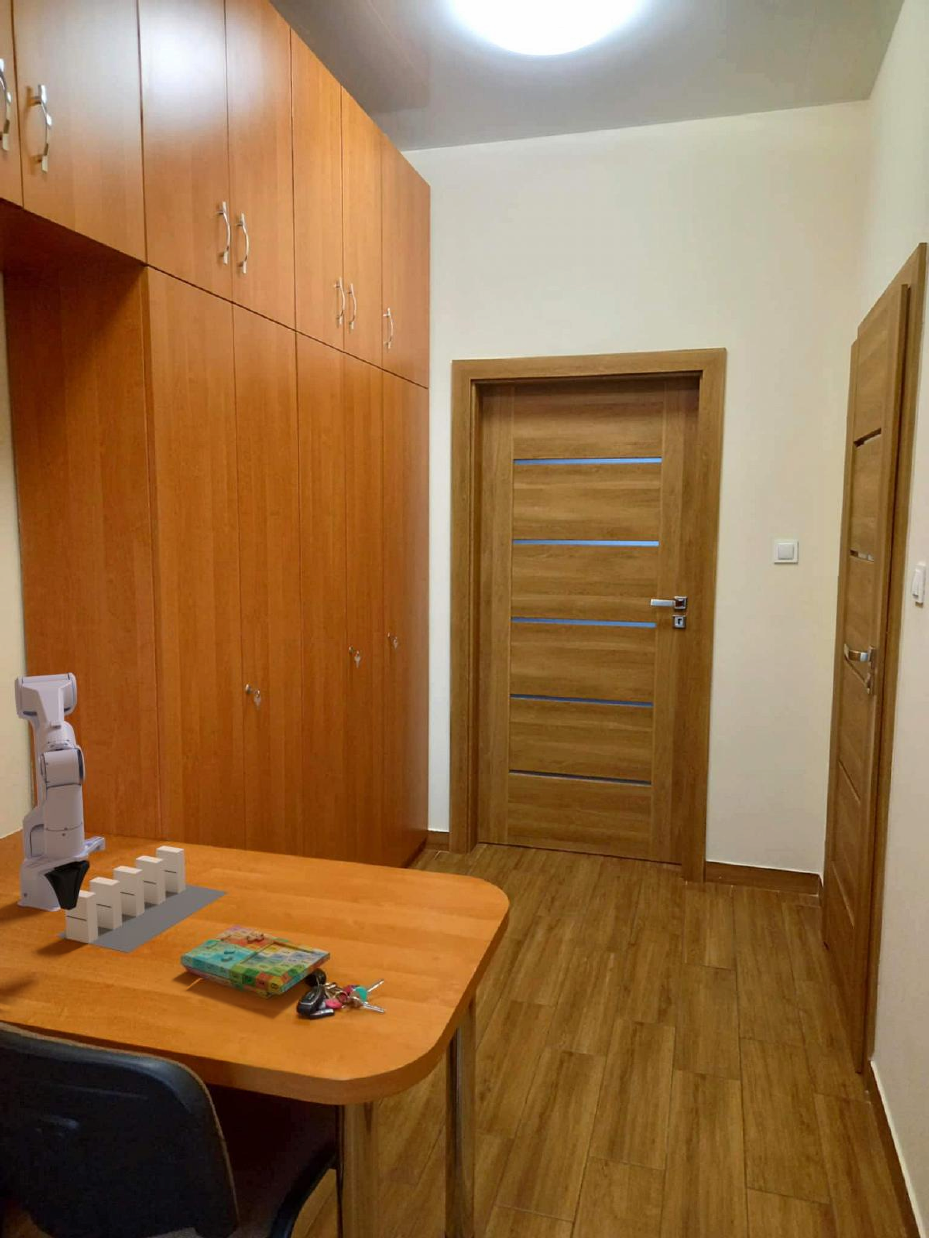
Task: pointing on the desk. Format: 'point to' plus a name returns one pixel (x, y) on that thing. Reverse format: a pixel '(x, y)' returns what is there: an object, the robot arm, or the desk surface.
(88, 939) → the domino
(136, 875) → the domino
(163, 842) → the desk surface
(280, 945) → the puzzle game
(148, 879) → the domino
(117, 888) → the domino
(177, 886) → the domino
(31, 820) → the robot arm
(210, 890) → the mat
